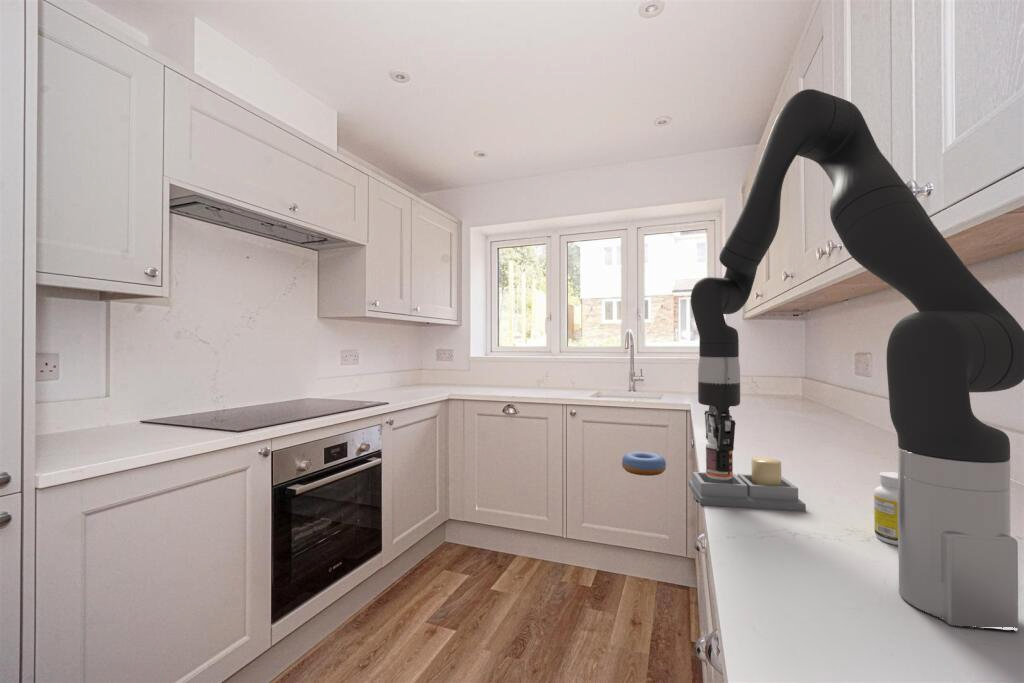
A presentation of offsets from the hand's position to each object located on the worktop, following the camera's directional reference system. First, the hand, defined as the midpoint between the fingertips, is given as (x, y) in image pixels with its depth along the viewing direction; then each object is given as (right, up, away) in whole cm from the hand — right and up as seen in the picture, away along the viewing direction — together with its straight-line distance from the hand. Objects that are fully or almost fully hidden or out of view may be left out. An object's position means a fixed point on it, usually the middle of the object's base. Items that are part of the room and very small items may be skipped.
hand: (719, 467), depth 91 cm
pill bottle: (0, -2, 0) cm, 2 cm away
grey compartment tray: (+4, -6, -1) cm, 7 cm away
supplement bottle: (+18, -6, -21) cm, 28 cm away
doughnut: (-10, -6, +18) cm, 21 cm away
